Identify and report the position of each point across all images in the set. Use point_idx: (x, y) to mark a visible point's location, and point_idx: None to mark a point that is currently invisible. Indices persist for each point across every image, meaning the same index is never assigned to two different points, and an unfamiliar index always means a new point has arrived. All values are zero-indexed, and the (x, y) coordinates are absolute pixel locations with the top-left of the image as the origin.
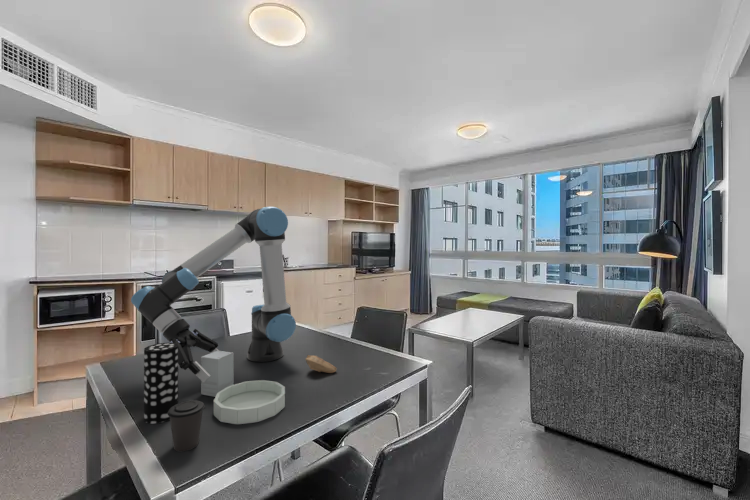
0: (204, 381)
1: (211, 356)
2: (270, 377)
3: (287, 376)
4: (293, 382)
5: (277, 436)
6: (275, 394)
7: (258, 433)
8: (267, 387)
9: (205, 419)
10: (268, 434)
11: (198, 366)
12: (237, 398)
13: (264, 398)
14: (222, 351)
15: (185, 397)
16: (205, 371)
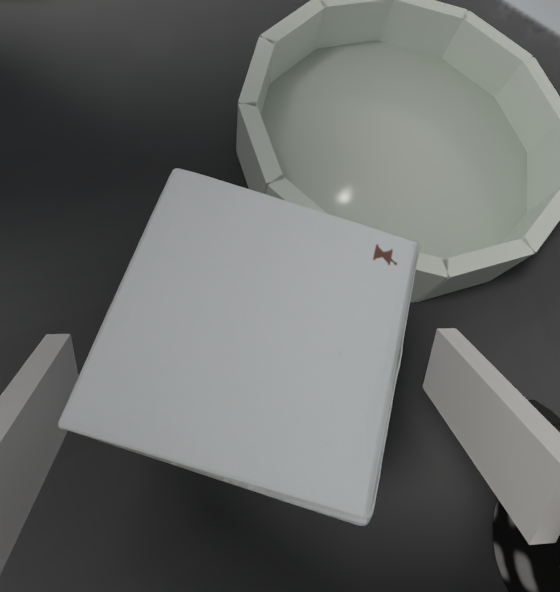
0: (426, 384)
1: (354, 363)
2: (26, 156)
3: (22, 77)
4: (116, 41)
5: (554, 36)
6: (297, 73)
7: (557, 86)
8: (263, 97)
9: (532, 296)
10: (552, 59)
11: (539, 417)
12: (359, 218)
13: (343, 106)
14: (123, 318)
15: (340, 562)
16: (474, 358)
